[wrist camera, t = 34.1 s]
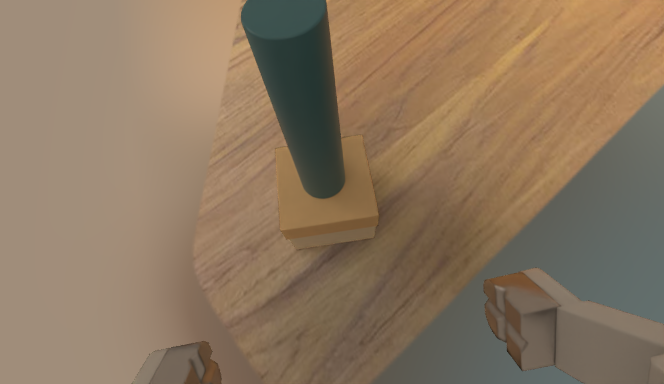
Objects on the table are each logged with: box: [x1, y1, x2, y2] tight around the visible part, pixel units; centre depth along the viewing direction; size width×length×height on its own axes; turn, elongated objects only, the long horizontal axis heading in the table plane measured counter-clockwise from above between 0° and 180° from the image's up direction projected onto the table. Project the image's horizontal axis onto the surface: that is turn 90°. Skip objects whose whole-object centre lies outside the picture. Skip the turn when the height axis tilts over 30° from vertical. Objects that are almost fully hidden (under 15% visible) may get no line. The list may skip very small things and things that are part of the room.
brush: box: [241, 0, 379, 250], centre depth 15 cm, size 5×5×14 cm
